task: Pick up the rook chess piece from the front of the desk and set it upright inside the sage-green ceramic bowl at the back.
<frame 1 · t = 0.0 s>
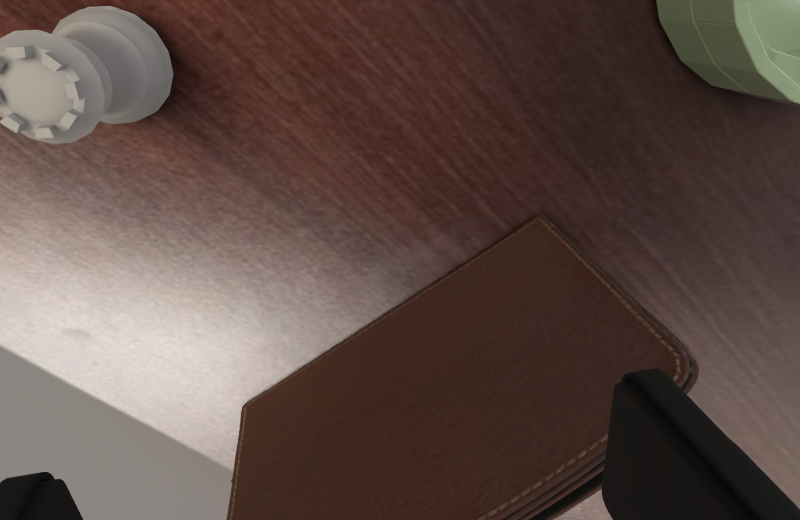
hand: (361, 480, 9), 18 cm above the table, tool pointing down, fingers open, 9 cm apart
letter holder: (430, 365, 32), on the table
rook chess piece: (120, 64, 22), on the table
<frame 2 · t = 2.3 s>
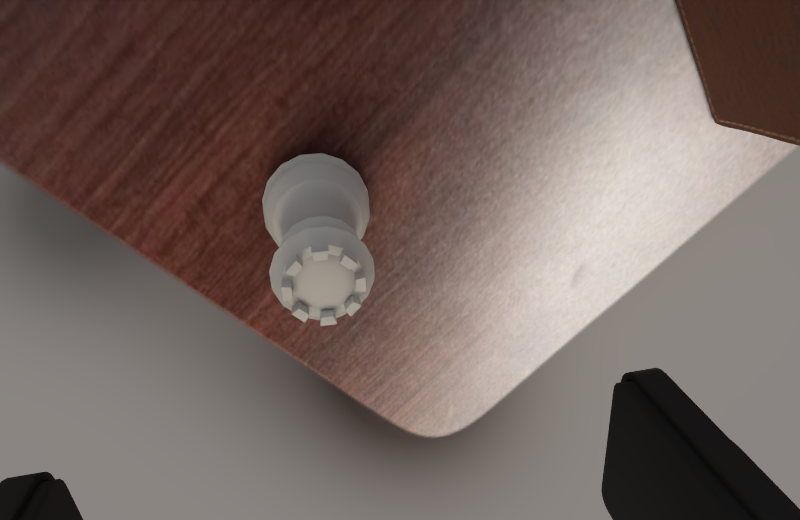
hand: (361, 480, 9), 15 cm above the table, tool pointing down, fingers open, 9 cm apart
rook chess piece: (316, 200, 23), on the table
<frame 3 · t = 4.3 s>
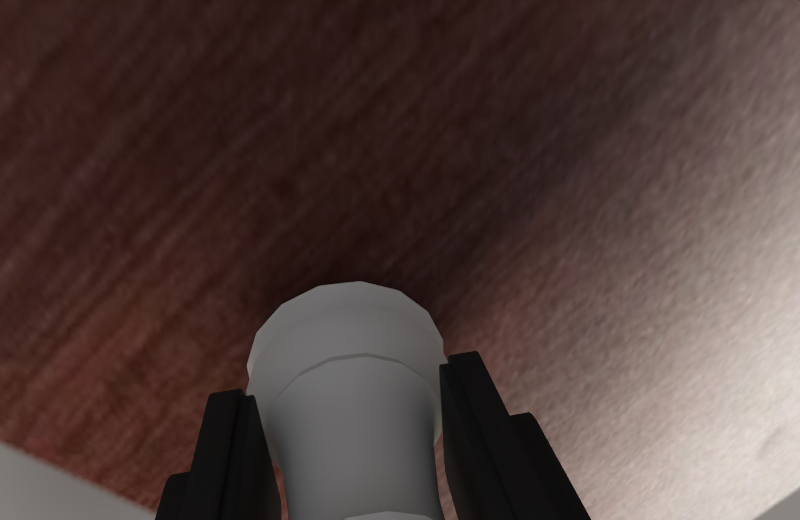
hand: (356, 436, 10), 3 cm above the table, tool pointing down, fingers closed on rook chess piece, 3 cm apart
rook chess piece: (346, 351, 13), on the table, touching gripper
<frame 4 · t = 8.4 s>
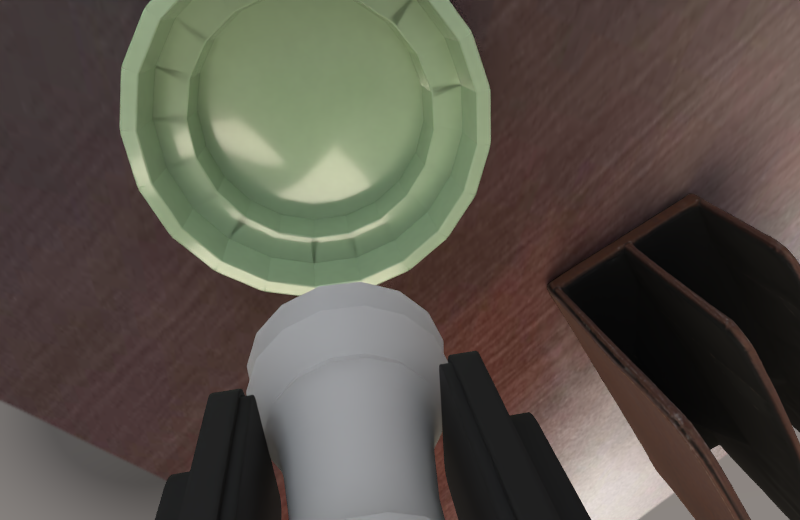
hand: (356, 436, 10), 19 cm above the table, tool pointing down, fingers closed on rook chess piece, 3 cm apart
bowl: (314, 112, 26), on the table
letter holder: (667, 344, 36), on the table
rook chess piece: (346, 351, 13), point 16 cm above the table, touching gripper
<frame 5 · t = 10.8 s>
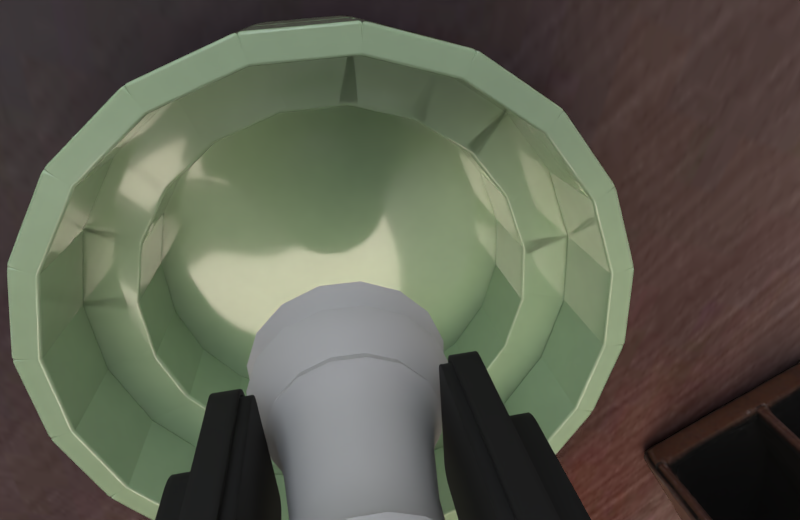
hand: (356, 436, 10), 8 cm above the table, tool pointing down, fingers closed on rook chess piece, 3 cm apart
bowl: (336, 255, 18), on the table
letter holder: (785, 506, 28), on the table
rook chess piece: (346, 351, 13), point 5 cm above the table, touching gripper
when the fingers open (3 cm above the table, at t = 12.3 s): rook chess piece stays where it is, resting on bowl.
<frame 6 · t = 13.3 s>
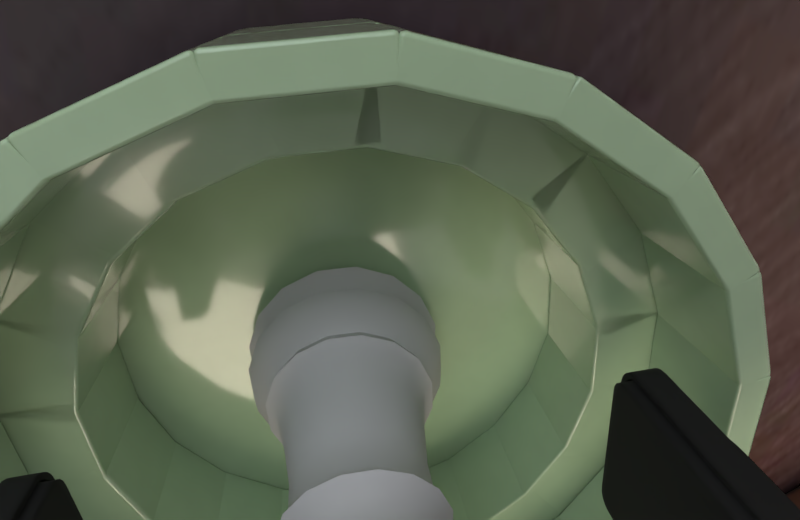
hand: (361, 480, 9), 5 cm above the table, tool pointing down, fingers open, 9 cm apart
bowl: (345, 322, 14), on the table
rook chess piece: (343, 334, 13), resting on bowl
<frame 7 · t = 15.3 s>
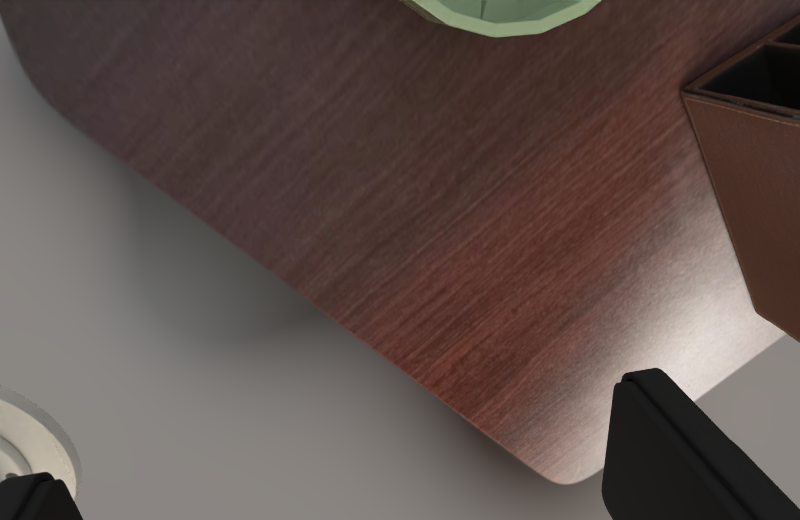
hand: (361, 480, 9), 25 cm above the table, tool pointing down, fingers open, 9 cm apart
letter holder: (783, 172, 37), on the table
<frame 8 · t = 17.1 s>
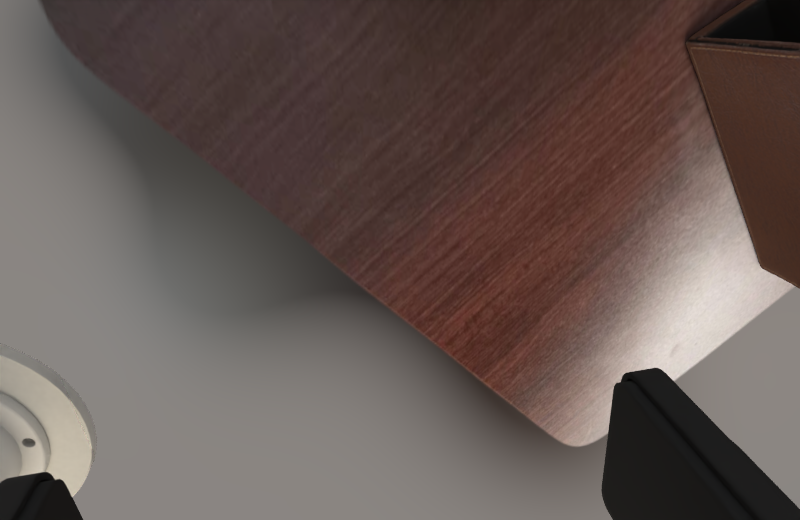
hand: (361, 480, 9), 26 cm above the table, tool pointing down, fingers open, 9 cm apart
letter holder: (785, 125, 38), on the table
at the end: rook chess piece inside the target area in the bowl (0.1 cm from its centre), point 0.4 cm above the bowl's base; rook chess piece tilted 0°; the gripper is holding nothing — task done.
